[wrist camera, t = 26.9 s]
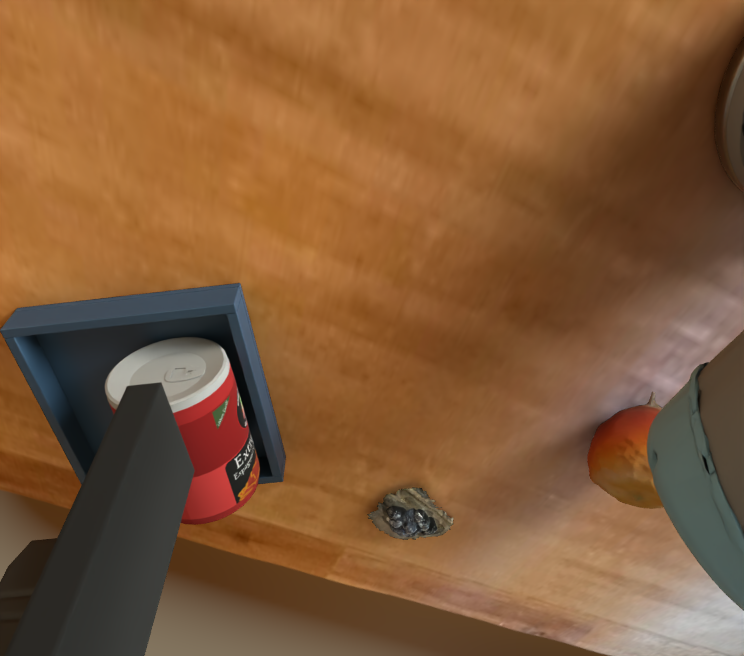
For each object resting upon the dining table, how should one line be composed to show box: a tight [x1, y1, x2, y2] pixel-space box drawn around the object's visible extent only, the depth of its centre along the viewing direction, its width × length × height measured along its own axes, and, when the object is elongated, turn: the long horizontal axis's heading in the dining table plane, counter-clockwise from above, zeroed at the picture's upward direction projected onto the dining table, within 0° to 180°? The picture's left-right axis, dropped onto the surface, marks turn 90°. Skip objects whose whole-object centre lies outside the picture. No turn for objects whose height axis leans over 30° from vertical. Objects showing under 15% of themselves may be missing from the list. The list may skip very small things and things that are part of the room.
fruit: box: [587, 392, 664, 509], centre depth 49 cm, size 8×8×8 cm
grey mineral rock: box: [368, 487, 454, 540], centre depth 56 cm, size 7×8×2 cm
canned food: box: [105, 337, 260, 525], centre depth 45 cm, size 8×8×11 cm
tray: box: [0, 283, 286, 484], centre depth 47 cm, size 16×15×3 cm
